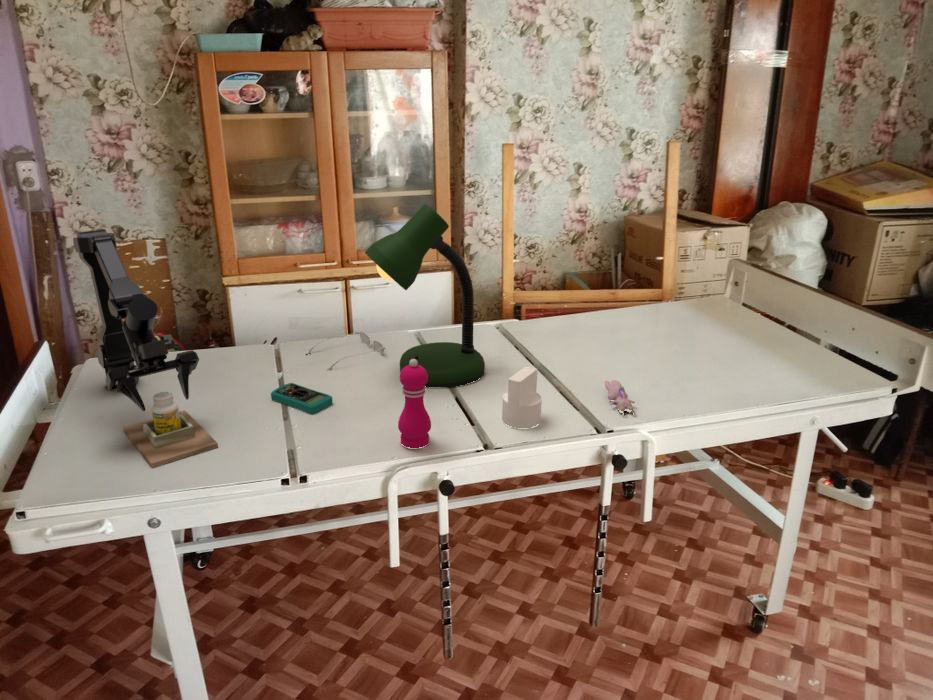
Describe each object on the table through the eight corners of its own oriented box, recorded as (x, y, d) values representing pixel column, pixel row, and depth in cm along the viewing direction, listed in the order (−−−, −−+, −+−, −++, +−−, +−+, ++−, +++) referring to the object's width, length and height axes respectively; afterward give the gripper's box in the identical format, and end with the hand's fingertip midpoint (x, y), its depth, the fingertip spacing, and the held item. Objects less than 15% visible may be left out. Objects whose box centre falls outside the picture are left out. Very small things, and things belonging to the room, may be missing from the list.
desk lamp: (381, 398, 187) (375, 218, 170) (361, 364, 207) (353, 199, 190) (496, 381, 197) (501, 209, 180) (466, 350, 217) (468, 193, 200)
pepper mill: (398, 435, 169) (396, 353, 162) (430, 434, 170) (429, 352, 163) (398, 451, 163) (396, 366, 155) (432, 450, 163) (431, 365, 156)
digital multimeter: (291, 390, 192) (290, 380, 191) (334, 405, 184) (333, 394, 183) (269, 401, 186) (268, 390, 185) (312, 416, 178) (311, 405, 177)
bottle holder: (123, 431, 170) (120, 417, 169) (185, 413, 178) (183, 400, 177) (152, 467, 156) (149, 452, 154) (218, 447, 164) (216, 432, 162)
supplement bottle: (184, 428, 169) (178, 389, 166) (179, 439, 165) (173, 400, 161) (159, 429, 169) (152, 390, 165) (153, 441, 164) (146, 401, 160)
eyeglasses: (386, 358, 212) (386, 345, 210) (327, 373, 202) (327, 359, 200) (360, 342, 223) (359, 329, 222) (303, 355, 213) (302, 342, 212)
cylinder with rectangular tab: (529, 433, 171) (531, 385, 166) (495, 423, 175) (496, 376, 171) (547, 418, 178) (549, 371, 174) (513, 408, 182) (515, 363, 178)
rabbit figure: (640, 421, 180) (619, 385, 193) (643, 400, 177) (623, 366, 190) (614, 422, 179) (596, 387, 192) (618, 402, 176) (599, 367, 189)
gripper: (100, 334, 155) (124, 401, 151) (190, 315, 165) (215, 378, 162) (96, 357, 163) (119, 422, 159) (182, 338, 174) (206, 398, 170)
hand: (166, 404), depth 162 cm, fingers open, 9 cm apart
